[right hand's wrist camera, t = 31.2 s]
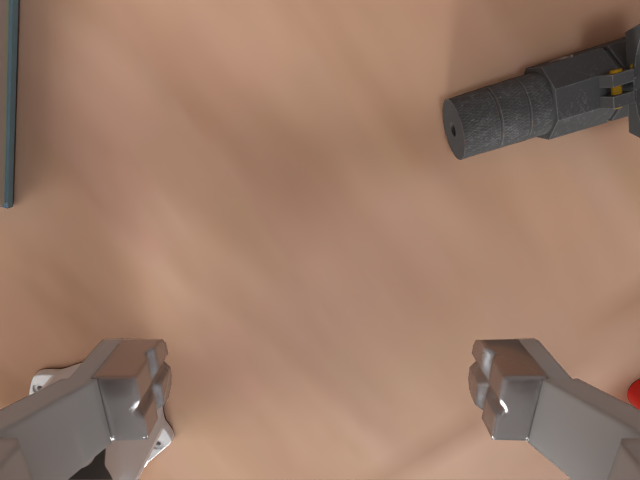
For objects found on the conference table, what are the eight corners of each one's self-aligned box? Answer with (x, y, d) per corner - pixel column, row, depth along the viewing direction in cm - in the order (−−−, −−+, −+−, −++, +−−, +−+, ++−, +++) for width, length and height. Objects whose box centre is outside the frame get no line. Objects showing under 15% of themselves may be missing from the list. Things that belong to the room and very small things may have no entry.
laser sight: (433, 75, 38) (471, 71, 28) (683, -6, 35) (813, -39, 26) (452, 173, 41) (491, 199, 32) (682, 105, 39) (797, 111, 29)
